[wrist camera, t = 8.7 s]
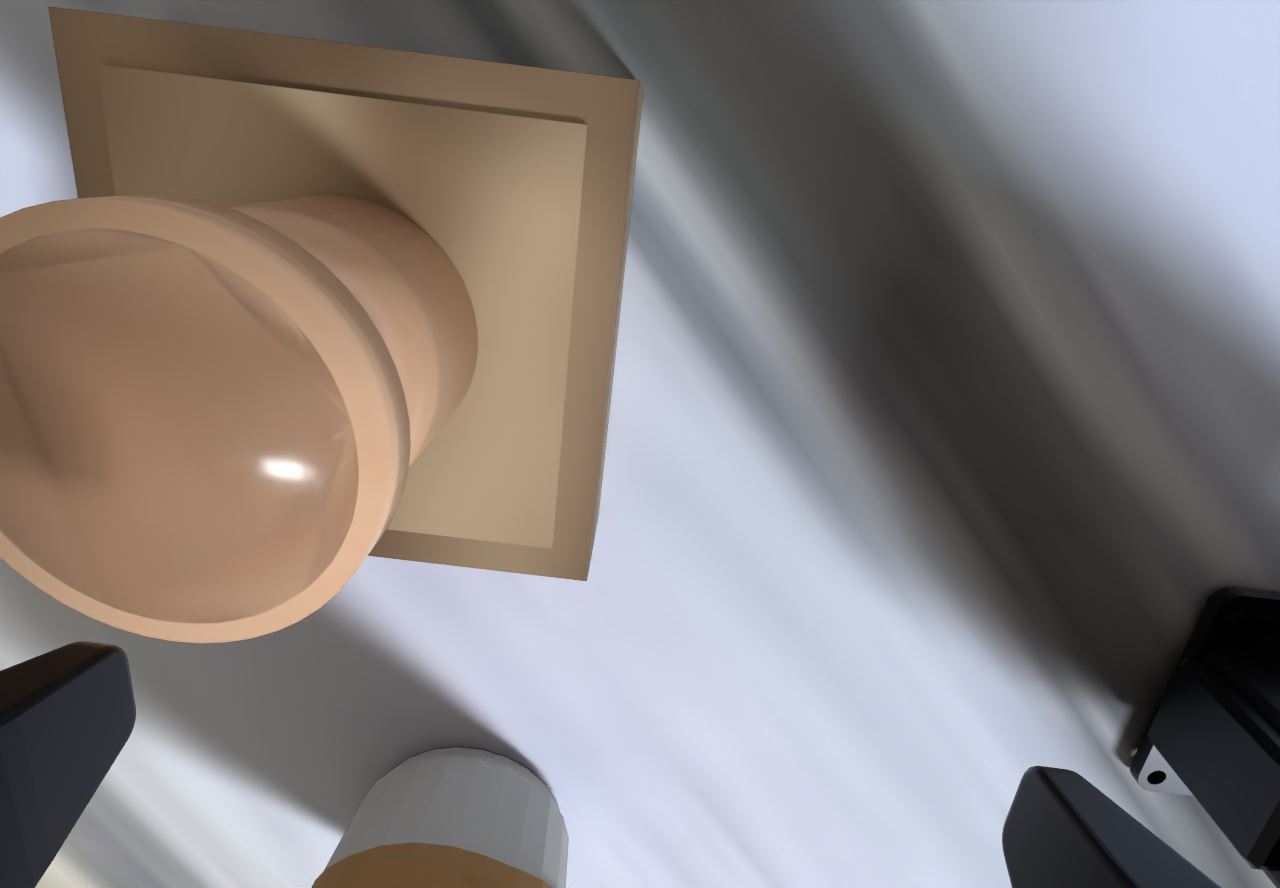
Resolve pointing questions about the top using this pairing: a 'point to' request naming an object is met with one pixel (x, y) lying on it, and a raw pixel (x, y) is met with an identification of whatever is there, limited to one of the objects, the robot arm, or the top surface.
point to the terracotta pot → (216, 401)
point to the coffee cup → (453, 828)
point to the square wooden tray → (435, 201)
